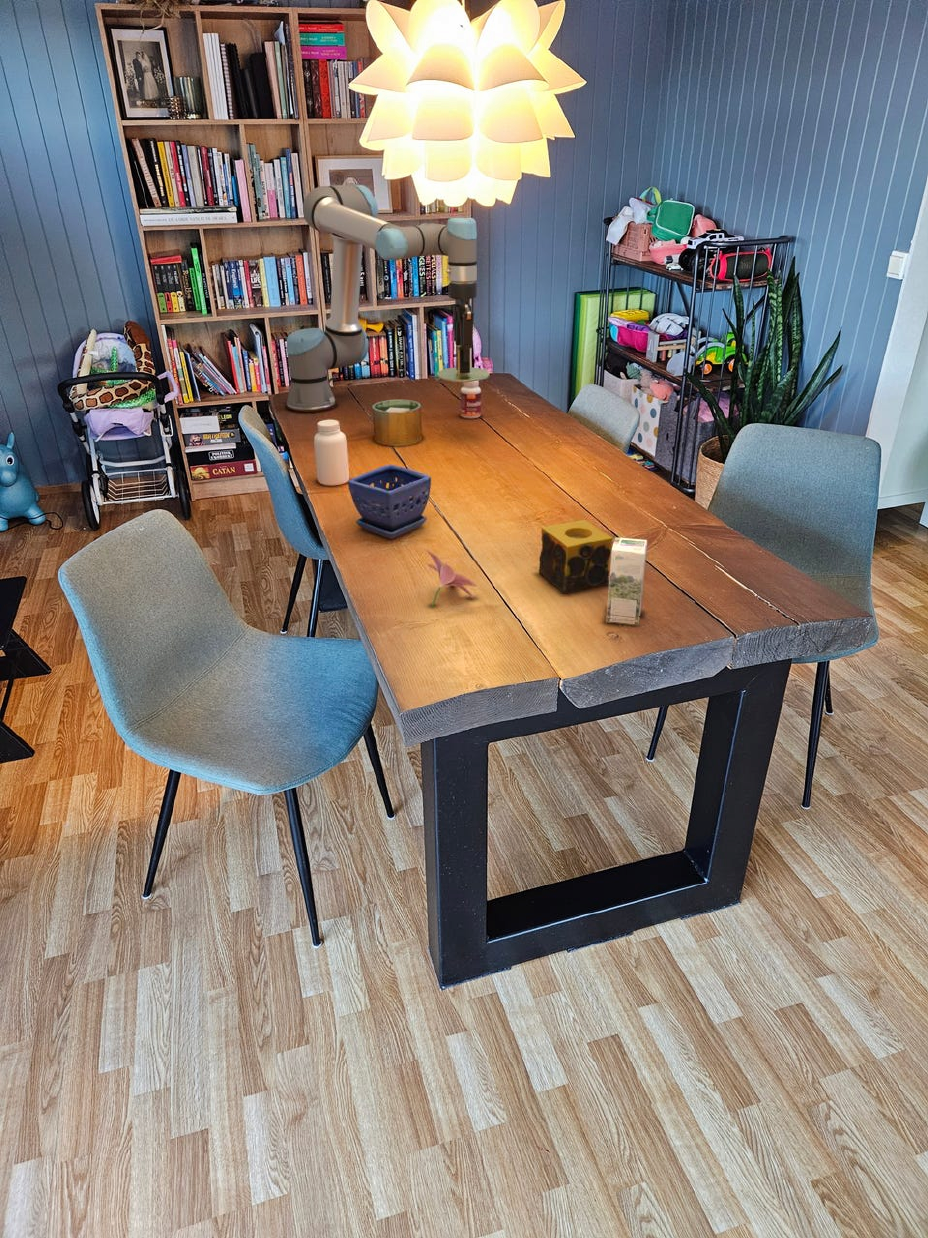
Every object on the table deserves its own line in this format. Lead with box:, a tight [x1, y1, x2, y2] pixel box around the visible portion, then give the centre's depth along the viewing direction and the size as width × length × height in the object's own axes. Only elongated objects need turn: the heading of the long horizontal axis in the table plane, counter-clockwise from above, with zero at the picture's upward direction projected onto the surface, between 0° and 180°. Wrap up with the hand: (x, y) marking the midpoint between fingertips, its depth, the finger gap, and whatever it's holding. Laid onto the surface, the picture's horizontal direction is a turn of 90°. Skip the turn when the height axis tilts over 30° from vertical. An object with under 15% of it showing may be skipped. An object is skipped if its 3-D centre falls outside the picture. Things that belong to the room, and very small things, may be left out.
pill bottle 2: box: [460, 381, 482, 419], centre depth 268 cm, size 6×6×11 cm
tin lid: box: [436, 345, 490, 383], centre depth 243 cm, size 15×15×9 cm
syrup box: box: [605, 536, 648, 627], centre depth 153 cm, size 6×6×14 cm
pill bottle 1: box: [313, 419, 350, 487], centre depth 218 cm, size 8×8×15 cm
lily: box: [424, 548, 478, 607], centre depth 162 cm, size 12×12×10 cm
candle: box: [538, 519, 613, 594], centre depth 168 cm, size 10×10×10 cm
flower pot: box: [347, 464, 432, 540], centre depth 191 cm, size 13×13×12 cm
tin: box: [371, 399, 423, 447], centre depth 249 cm, size 14×14×10 cm
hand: (463, 371), depth 244 cm, fingers closed on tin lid, 3 cm apart
